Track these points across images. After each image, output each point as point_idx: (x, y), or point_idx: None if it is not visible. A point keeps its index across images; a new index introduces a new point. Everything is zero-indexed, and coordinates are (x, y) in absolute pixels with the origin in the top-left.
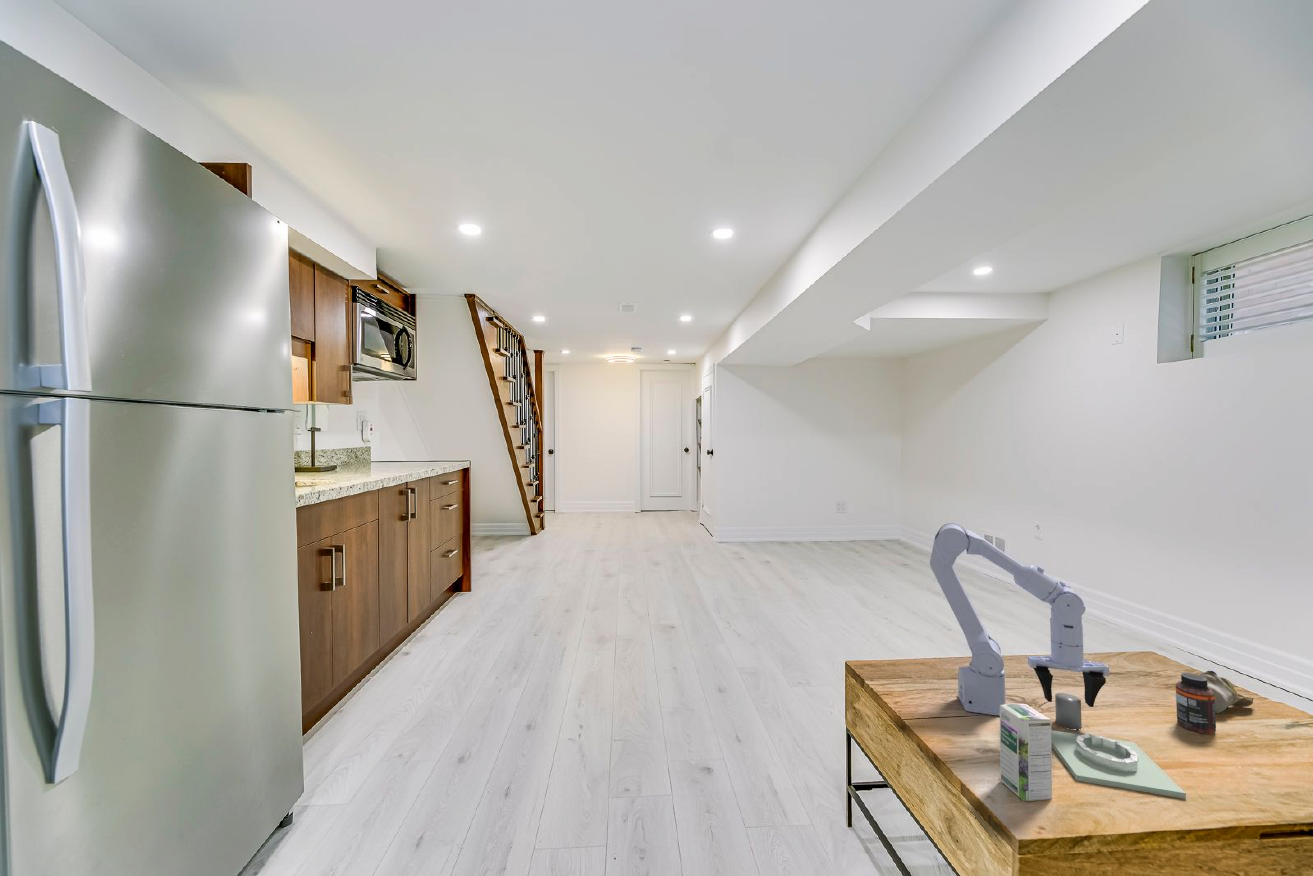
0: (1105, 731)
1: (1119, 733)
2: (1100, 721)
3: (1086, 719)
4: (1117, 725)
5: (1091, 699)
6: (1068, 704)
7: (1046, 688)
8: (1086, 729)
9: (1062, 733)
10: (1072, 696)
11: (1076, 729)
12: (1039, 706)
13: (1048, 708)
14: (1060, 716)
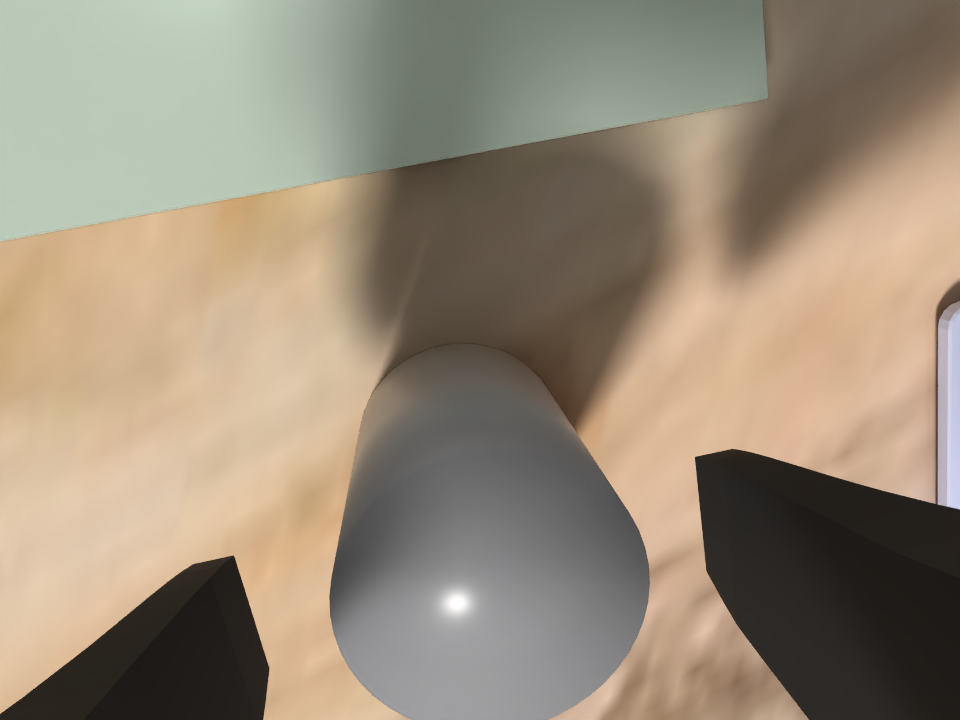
0: (162, 471)
1: (46, 494)
2: None
3: (288, 631)
4: (45, 650)
5: (170, 609)
6: (512, 436)
7: (910, 503)
8: (321, 424)
9: (587, 95)
10: (419, 683)
11: (413, 359)
12: (632, 680)
13: None
14: (556, 404)
